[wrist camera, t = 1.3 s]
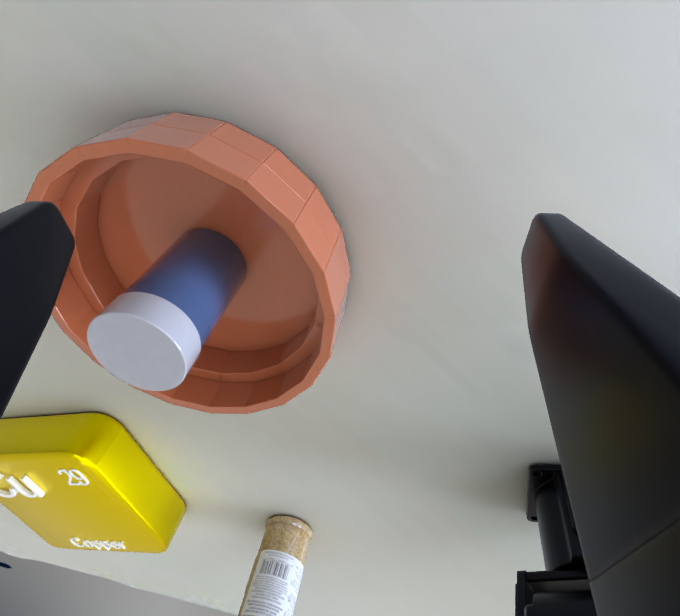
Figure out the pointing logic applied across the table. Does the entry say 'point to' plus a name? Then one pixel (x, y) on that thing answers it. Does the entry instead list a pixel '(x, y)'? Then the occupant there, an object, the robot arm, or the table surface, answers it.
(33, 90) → the table surface
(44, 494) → the element tile
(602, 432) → the robot arm
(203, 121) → the bowl
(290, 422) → the table surface
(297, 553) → the sprinkles bottle
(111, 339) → the salt shaker
